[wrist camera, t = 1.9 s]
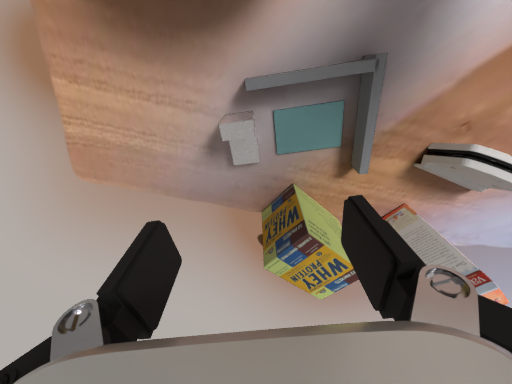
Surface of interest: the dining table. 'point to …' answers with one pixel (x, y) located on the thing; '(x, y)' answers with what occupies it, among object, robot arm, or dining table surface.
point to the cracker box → (440, 250)
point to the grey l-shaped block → (241, 137)
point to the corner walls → (367, 102)
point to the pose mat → (309, 127)
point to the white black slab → (469, 166)
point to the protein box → (305, 244)
